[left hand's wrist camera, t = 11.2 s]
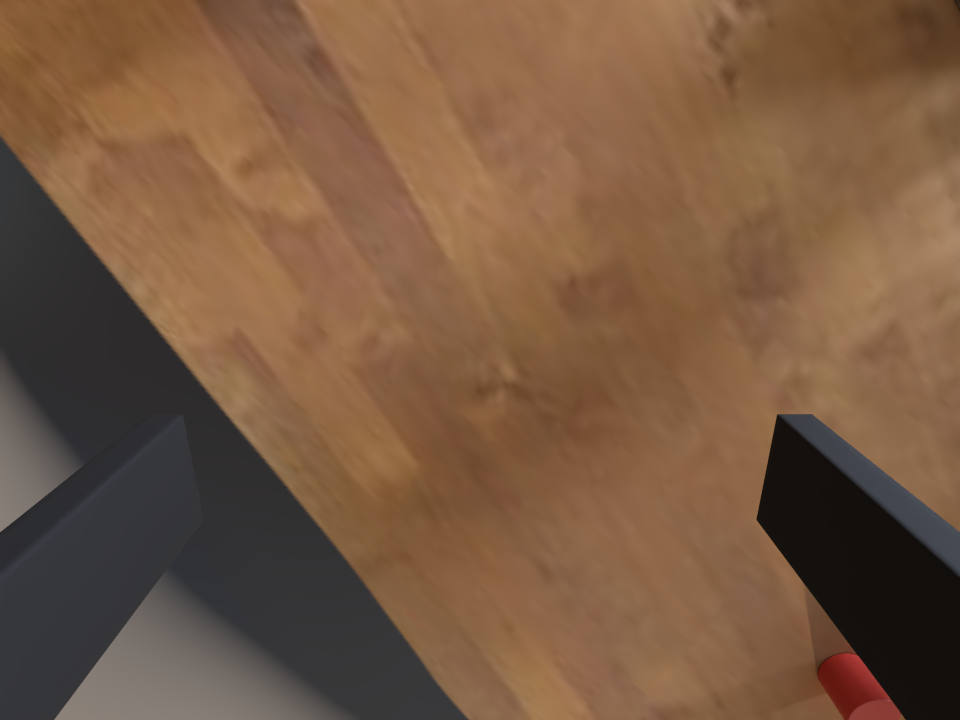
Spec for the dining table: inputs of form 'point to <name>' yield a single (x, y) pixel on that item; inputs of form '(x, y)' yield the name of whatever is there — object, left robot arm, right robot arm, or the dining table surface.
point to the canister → (855, 689)
